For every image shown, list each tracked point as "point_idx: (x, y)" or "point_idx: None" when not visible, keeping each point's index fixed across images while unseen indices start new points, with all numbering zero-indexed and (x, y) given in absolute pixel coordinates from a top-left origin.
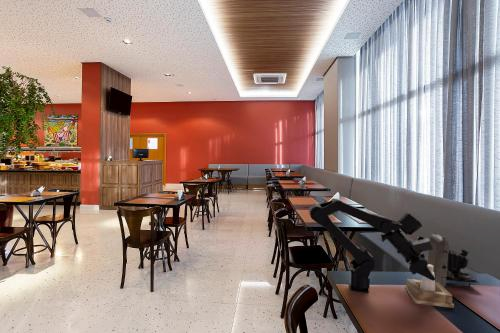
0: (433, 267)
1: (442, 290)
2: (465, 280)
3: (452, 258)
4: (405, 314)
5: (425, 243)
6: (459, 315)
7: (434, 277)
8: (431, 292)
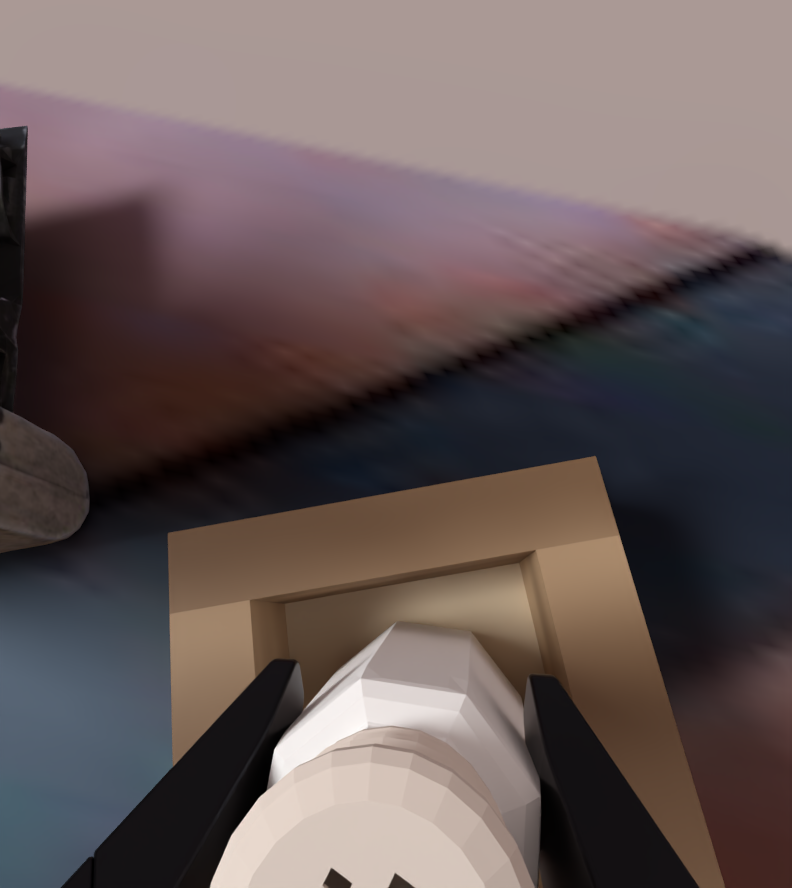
0: (424, 756)
1: (473, 546)
2: (7, 221)
3: None
4: None
5: None
6: (726, 463)
7: (567, 704)
8: (651, 738)
